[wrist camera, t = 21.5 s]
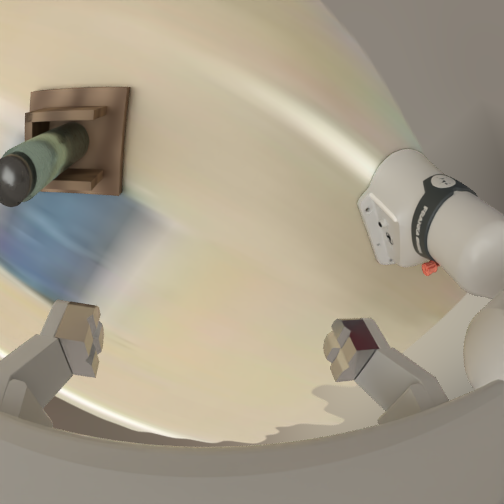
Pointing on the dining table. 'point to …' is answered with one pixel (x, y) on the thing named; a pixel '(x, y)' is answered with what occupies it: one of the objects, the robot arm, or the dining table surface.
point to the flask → (40, 162)
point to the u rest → (99, 131)
